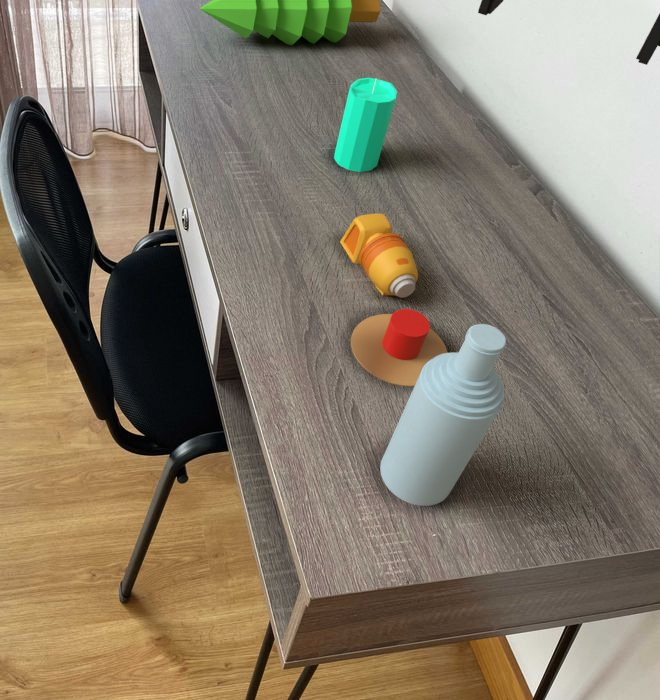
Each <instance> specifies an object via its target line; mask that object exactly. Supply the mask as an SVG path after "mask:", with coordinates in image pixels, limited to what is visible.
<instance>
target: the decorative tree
mask: <svg viewBox="0 0 660 700" xmlns="http://www.w3.org/2000/svg"><path fill="white" fill-rule="evenodd" d="M198 10H200V11H202V12H203V13H205V14H206V15H208V16H209V17H211V18H212V19H214V20H216V21H218V22H219V23H220V24H222V25H224V26H225V27H227V28H228V29H230V30H231V31H233V32H234V33H236V34H238V36H239V35H240V37H243V38H244V39H248V38H249V36H250V35H251V34H252V33H253V32H255V33H257V34H260V35H261V36H263V37H265V38H267V39H269V38H270V37H271V36H272V35H273V37H275V38H277V39H278V40H280V41H281V42H283V43H284V44H286V45H289V46H293V45H294V44H295V43H296V42H297V41H298V40H300V39H301V37H302V38H304V39H305V40H306V41H308V42H309V43H310V44H314V45H316V43H317V42H318V41H319V40H320V39H321V38H322V37H323V38H324V39H326V40H328V41H329V42H331V43H338V42H339V41H340V40H341V39H343V38H344V37H345V36H346V35H347V31H348V26H349V23H377V21H378V19H379V16H380V14H381V4H380V0H211V1H209V2H207V3H206V4H204V5H202V6H201V7H199V8H198Z"/></svg>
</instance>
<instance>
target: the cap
mask: <svg viewBox="0 0 660 700" xmlns="http://www.w3.org/2000/svg"><path fill="white" fill-rule="evenodd" d="M391 314H392V316H391V319H390V321H389V324H388V327H387V330H386V332H385V335H384V338H383V341H382V344H383V348H384V349H385V351H386V352H387V353H388V354H389V355H391V356H392V357H394V358H397V359H401V360H410V359H413V358H415V357H417V356H418V354H419V353H420V350H421V348H422V346H423V343H424V341H425V339H426V336H427V334H428V332H429V329H430V328H431V325H430V321H429V320H428V318H427V317H426V316H425V315H424V314H422V312H419V311H417V310H414V309H412V308H411V309H410V308H401V309H397V310H395V311H394V312H393V313H391Z"/></svg>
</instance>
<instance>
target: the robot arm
mask: <svg viewBox="0 0 660 700" xmlns="http://www.w3.org/2000/svg"><path fill="white" fill-rule="evenodd" d="M503 2H504V0H481V2H480V4H479V7H478V11H477V14H480V15H483V16H487V15H491V14H492V13H493V12H495V10H496V9H497V8H498V7H499V6H500V5H501V4H502V3H503ZM658 47H660V13H658V15H657V17H656V19H655V21H654V23H653V25H652V27H651V29H650V31H649V33H648V35H647V36H646V39H645V40H644V43H643V44H642V46H641V48H640V50H639V51H638V53H637V55H636V58H635V59H636V60H638V62H637V63H639V64H643V65H646V66H648V64H649V62H650V61H651V58H652V57H653V55H654V53H655V52H656V50H657V48H658Z"/></svg>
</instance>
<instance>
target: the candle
mask: <svg viewBox="0 0 660 700" xmlns="http://www.w3.org/2000/svg"><path fill="white" fill-rule="evenodd" d="M397 92H398V90H397V89H396V88H395V86H394V85H393V83H392V82H389V81H386V80H382V79H379V78H378V77H375V78H373V77H363V78H357V79H356V80H355V81H353V83H351V84H350V86H349V90H348V94H347V99H346V103H345V107H344V111H343V116H342V120H341V125H340V128H339V133H338V137H337V142H336V147H335V150H334V155H333V159H334V160H335V162H336V163H337V165H338V166H340V167H342V168H344V169H345V170H347V171H351V172H352V171H353V172H357V173H363V172H370V171H373V170H374V169H375V168H377V166H378V164H379V161H380V158H381V157H380V156H381V153H382V150H383V146H384V142H385V139H386V135H387V132H388V128H389V125H390V121H391V117H392V113H393V110H394V106H395V103H396V100H397Z"/></svg>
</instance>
